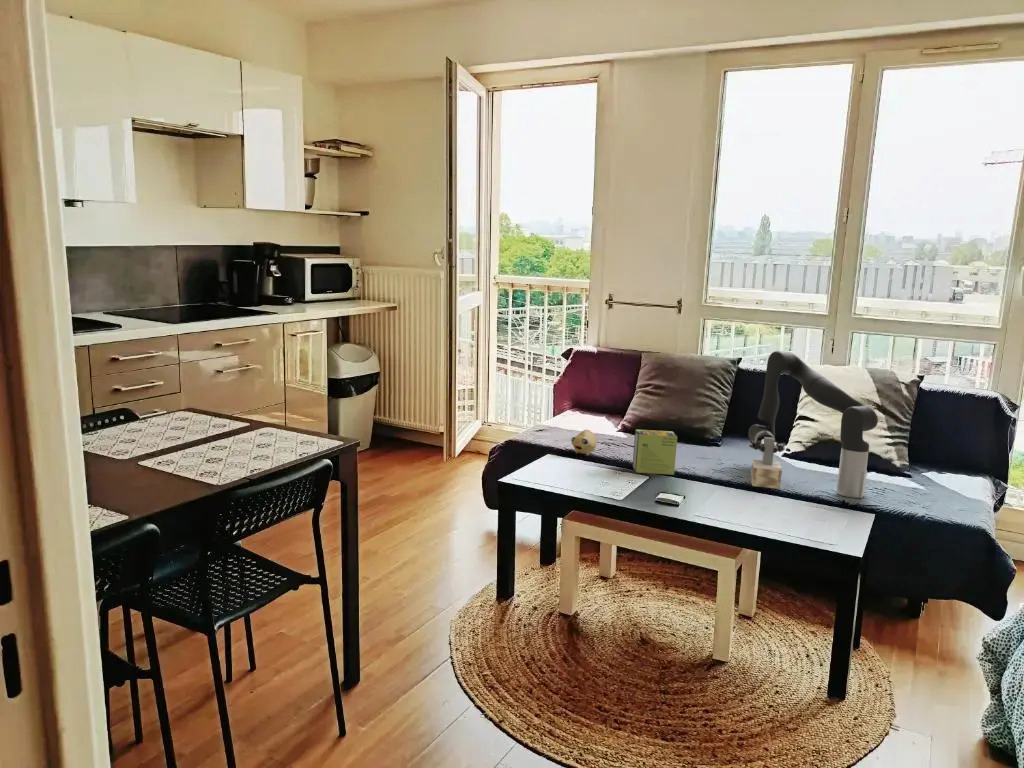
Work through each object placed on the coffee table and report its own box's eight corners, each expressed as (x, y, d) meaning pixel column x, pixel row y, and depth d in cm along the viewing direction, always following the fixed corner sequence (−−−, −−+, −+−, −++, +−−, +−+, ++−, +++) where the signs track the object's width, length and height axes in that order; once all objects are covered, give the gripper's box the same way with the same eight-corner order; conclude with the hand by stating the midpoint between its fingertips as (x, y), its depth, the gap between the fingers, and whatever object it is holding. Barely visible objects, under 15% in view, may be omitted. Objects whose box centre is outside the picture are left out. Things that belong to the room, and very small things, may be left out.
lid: (778, 468, 298) (781, 437, 296) (781, 474, 288) (784, 441, 287) (751, 465, 300) (754, 434, 298) (753, 471, 290) (756, 439, 289)
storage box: (777, 482, 299) (779, 464, 298) (780, 488, 289) (781, 470, 288) (750, 479, 301) (752, 462, 300) (752, 485, 291) (754, 467, 290)
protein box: (674, 475, 302) (678, 436, 300) (635, 472, 302) (638, 434, 300) (669, 468, 312) (672, 431, 310) (631, 466, 312) (634, 428, 310)
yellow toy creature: (566, 454, 327) (567, 430, 326) (579, 450, 337) (581, 426, 336) (586, 458, 322) (588, 433, 320) (599, 454, 332) (601, 429, 330)
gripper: (747, 430, 308) (750, 438, 291) (784, 433, 305) (790, 442, 288) (746, 448, 309) (748, 457, 292) (782, 452, 306) (788, 461, 289)
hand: (769, 449), depth 290 cm, fingers closed on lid, 3 cm apart
